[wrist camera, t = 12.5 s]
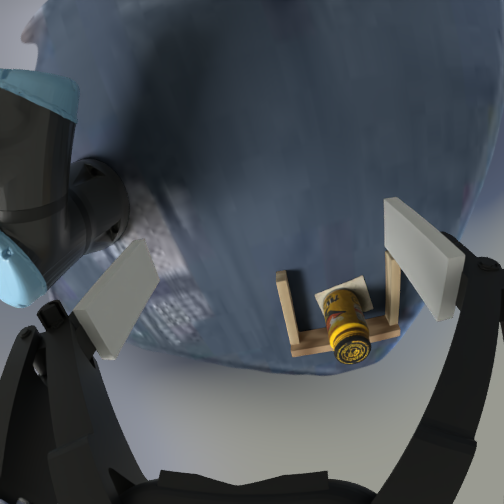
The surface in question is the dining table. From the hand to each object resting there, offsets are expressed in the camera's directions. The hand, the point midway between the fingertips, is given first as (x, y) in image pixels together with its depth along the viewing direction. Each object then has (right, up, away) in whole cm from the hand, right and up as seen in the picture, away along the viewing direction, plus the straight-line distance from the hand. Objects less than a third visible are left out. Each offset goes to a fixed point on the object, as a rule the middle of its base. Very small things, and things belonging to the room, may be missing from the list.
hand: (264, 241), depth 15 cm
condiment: (+15, -9, +32) cm, 36 cm away
